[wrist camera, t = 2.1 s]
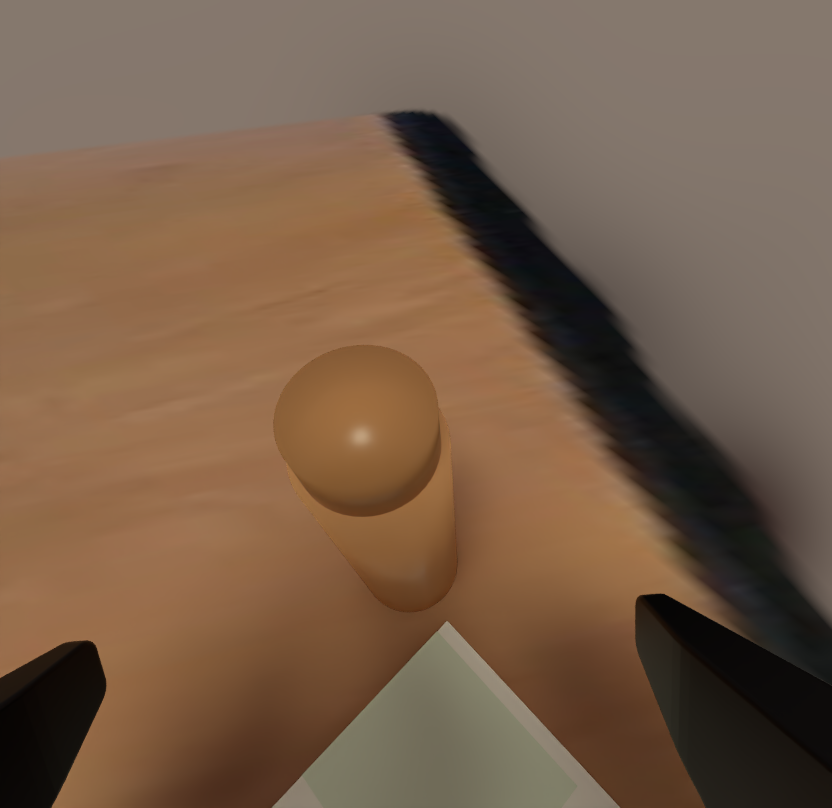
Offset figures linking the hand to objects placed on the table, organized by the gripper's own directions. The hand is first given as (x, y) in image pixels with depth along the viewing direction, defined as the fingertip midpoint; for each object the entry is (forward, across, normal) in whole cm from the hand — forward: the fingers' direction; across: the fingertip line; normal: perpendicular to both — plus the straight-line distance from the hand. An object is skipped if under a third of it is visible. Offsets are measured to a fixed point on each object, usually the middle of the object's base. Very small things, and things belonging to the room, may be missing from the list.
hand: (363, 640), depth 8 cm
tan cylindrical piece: (+10, 0, +5) cm, 11 cm away
